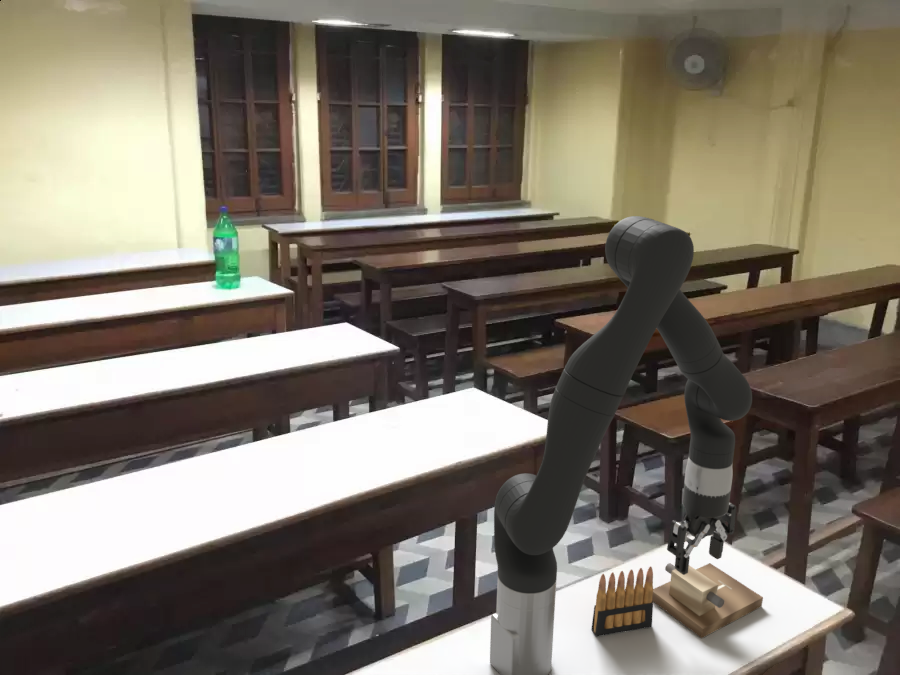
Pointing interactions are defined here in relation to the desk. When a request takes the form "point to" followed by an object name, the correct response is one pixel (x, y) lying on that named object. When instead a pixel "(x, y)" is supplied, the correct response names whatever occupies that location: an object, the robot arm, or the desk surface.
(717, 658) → the desk surface
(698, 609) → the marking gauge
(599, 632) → the ammunition clip
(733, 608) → the walnut board
